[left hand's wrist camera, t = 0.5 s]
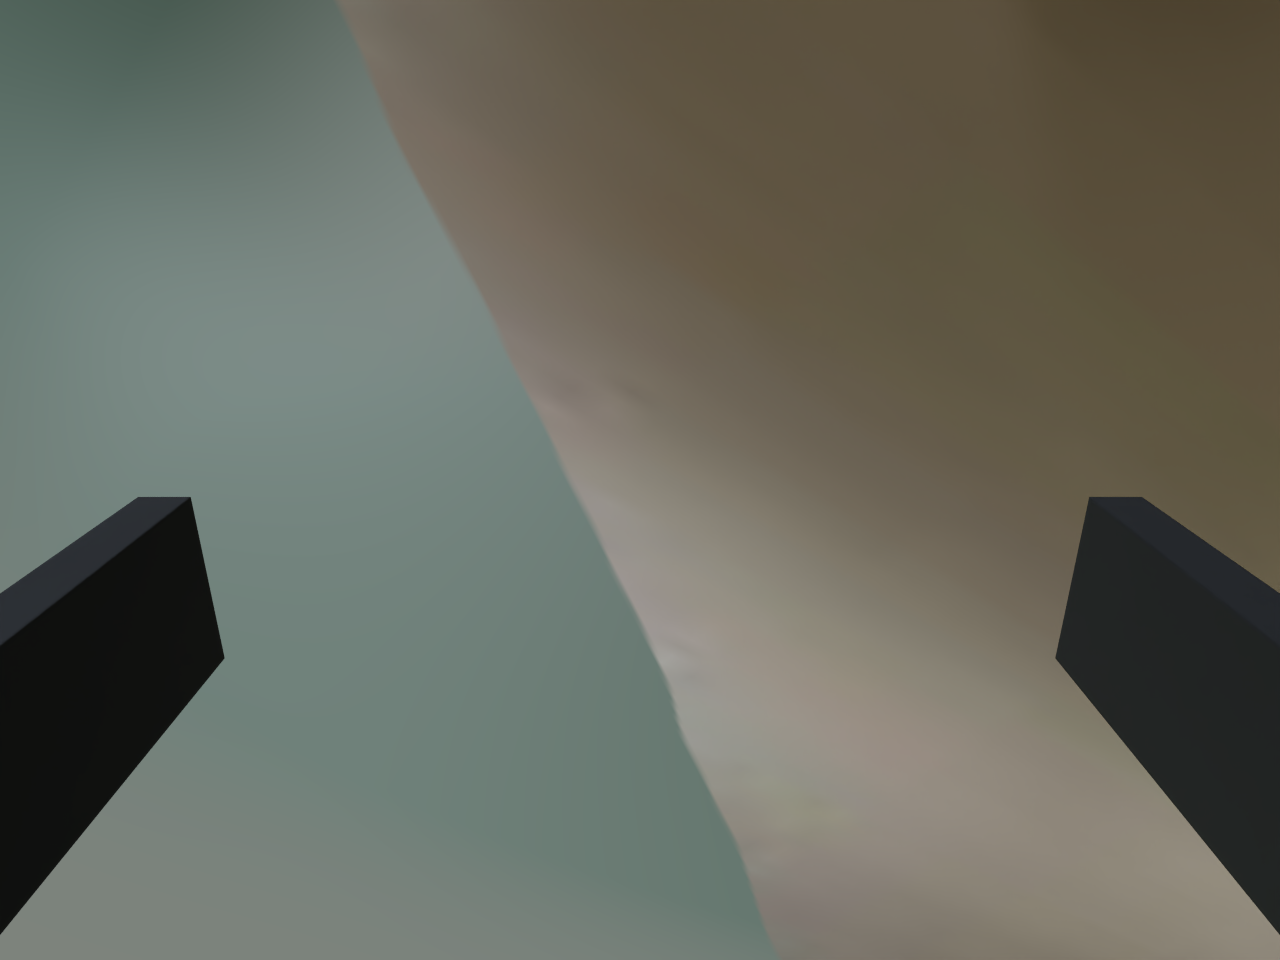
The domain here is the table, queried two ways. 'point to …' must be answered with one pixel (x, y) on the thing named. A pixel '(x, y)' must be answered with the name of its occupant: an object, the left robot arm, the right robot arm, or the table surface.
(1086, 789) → the table surface
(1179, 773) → the left robot arm
